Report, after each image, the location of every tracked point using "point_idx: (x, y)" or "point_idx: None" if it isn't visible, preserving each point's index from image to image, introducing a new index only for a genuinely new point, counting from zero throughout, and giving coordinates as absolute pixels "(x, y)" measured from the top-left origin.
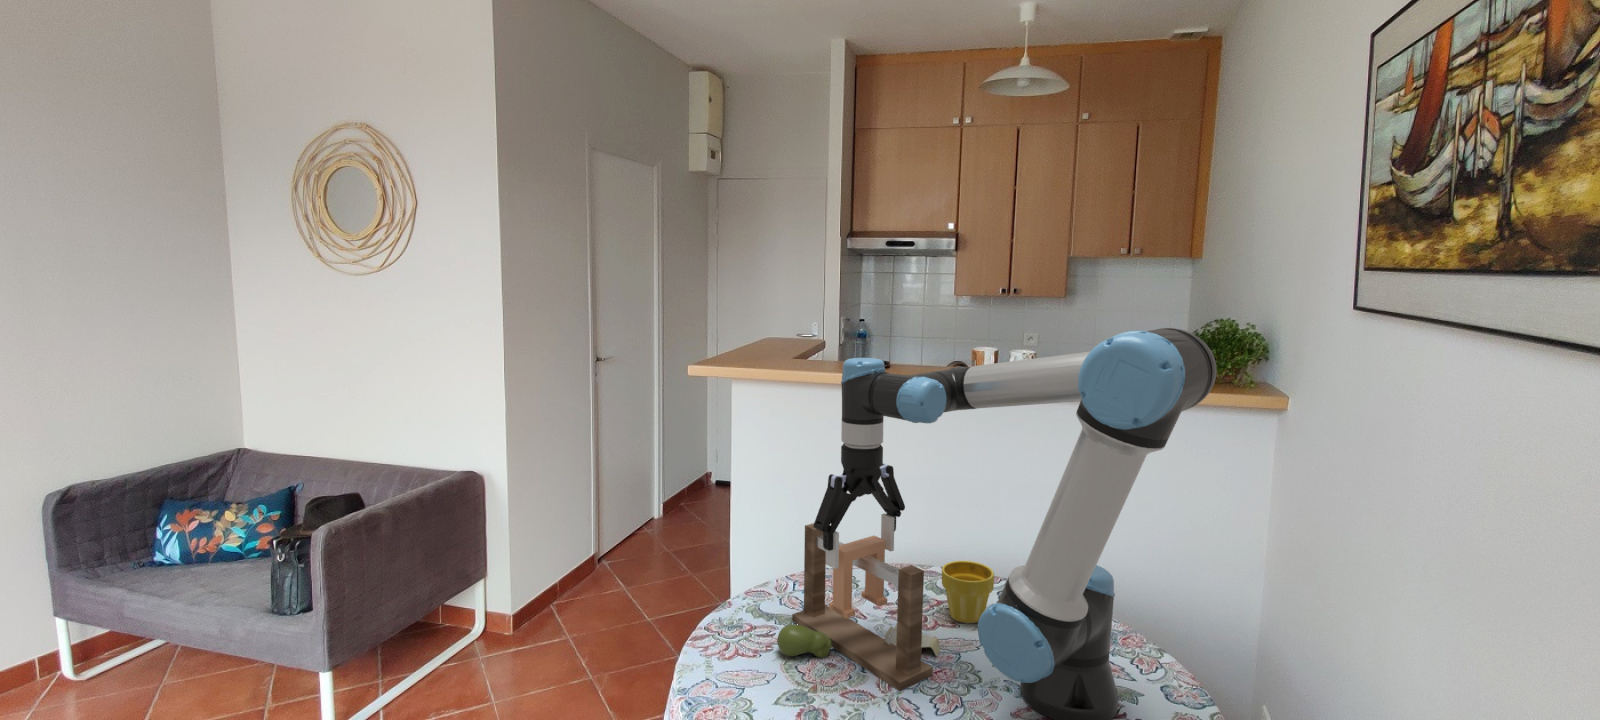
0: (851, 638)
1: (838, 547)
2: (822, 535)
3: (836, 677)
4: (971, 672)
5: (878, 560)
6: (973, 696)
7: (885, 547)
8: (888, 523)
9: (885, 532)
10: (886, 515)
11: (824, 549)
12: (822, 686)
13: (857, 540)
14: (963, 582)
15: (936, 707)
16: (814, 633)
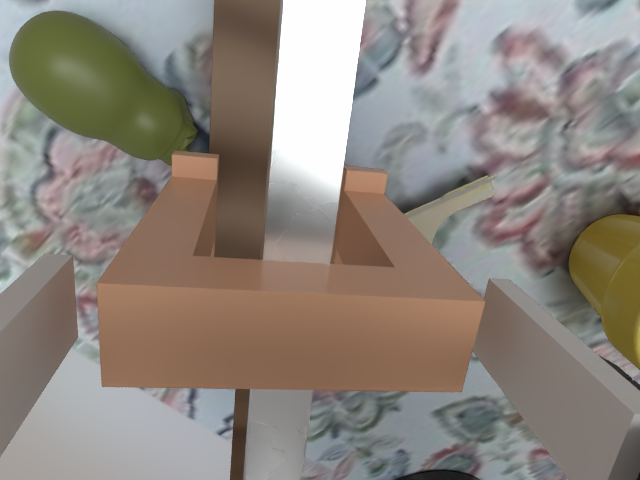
0: (261, 165)
1: (18, 424)
2: None
3: (117, 243)
4: (380, 403)
5: (303, 418)
6: (307, 451)
7: (484, 318)
8: (568, 443)
9: (534, 366)
10: (628, 455)
11: None
12: (59, 249)
13: (331, 296)
14: (632, 350)
15: (220, 436)
16: (126, 126)
